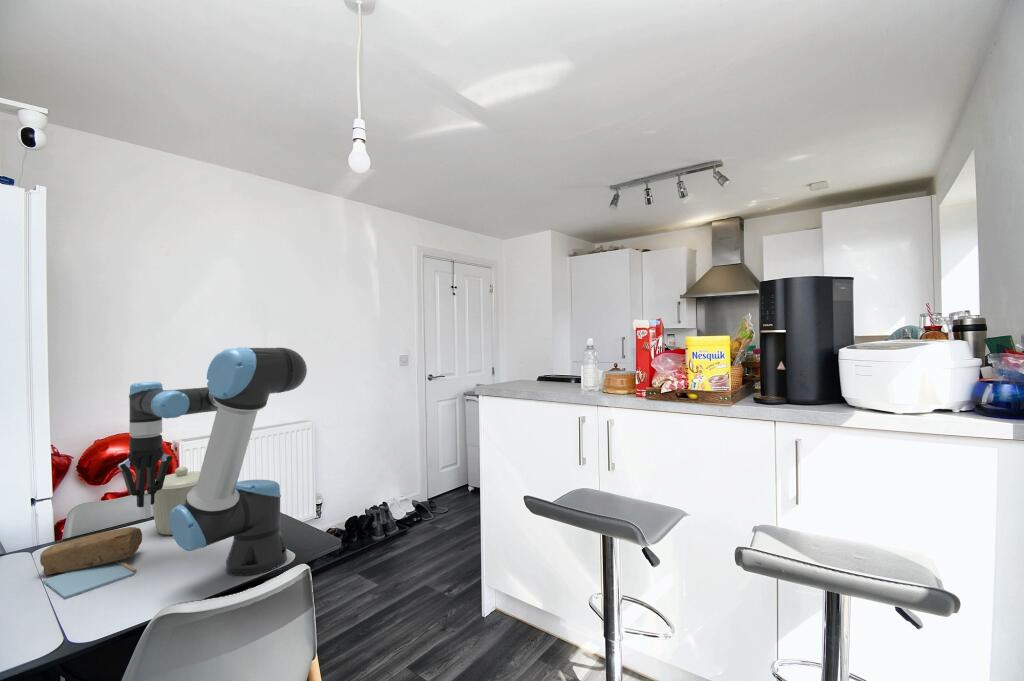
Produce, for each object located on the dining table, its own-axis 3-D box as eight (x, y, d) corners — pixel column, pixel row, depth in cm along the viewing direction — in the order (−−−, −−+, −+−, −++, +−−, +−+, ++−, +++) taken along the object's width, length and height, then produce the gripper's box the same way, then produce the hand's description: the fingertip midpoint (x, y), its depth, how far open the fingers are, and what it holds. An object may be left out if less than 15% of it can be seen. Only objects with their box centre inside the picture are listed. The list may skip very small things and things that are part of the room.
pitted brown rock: (127, 533, 130) (35, 553, 123) (130, 560, 130) (38, 581, 123) (142, 521, 140) (58, 538, 133) (145, 545, 140) (61, 564, 133)
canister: (162, 522, 163) (162, 462, 164) (220, 517, 168) (220, 458, 169) (136, 543, 146) (136, 476, 146) (201, 536, 151) (201, 471, 151)
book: (137, 573, 126) (137, 570, 126) (64, 599, 113) (64, 595, 113) (113, 560, 134) (113, 556, 134) (43, 582, 122) (43, 578, 122)
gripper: (165, 430, 142) (165, 508, 142) (112, 438, 131) (112, 521, 131) (177, 433, 138) (177, 512, 138) (123, 440, 127) (123, 527, 127)
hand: (145, 517), depth 134 cm, fingers closed
